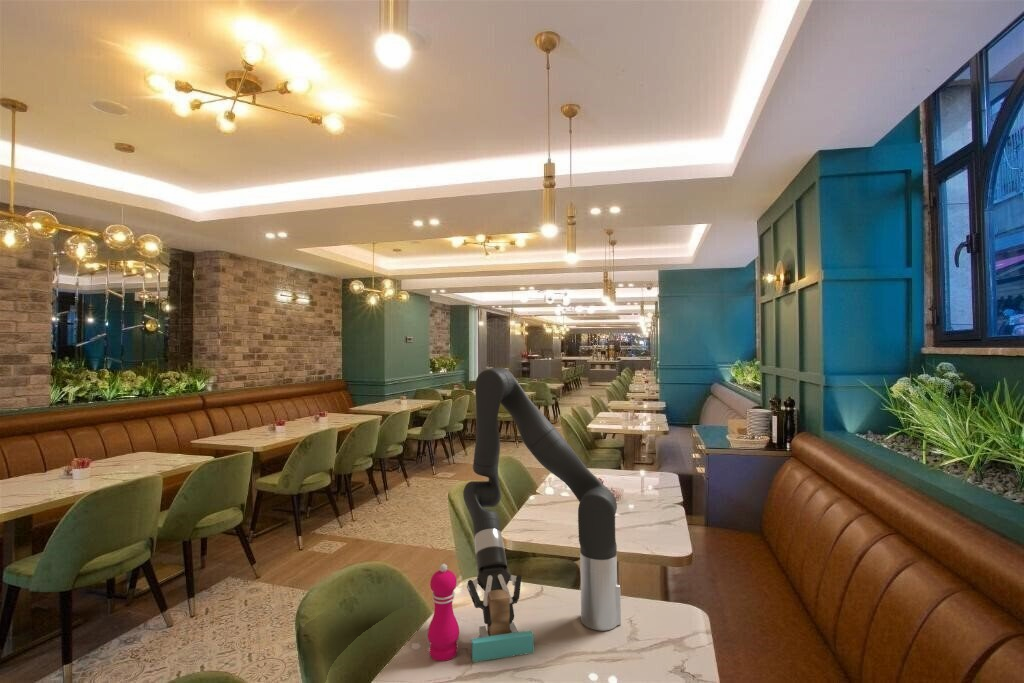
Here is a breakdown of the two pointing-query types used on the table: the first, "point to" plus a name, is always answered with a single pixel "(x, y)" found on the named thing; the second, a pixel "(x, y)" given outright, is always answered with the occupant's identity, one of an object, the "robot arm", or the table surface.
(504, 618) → the peg
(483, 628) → the frame
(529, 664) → the table surface
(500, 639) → the wall
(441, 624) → the pepper mill
